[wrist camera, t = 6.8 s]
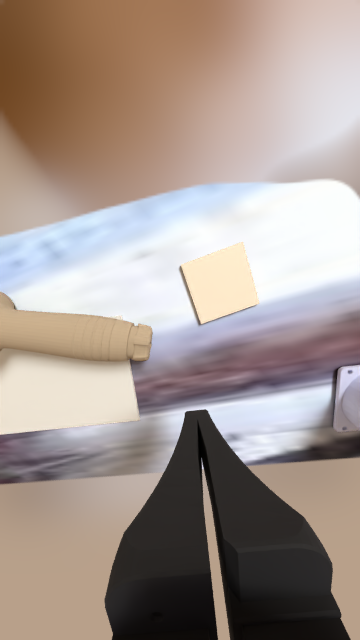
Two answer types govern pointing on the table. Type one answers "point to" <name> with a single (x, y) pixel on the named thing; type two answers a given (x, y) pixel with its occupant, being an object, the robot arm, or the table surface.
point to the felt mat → (63, 392)
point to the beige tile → (220, 283)
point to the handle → (72, 335)
